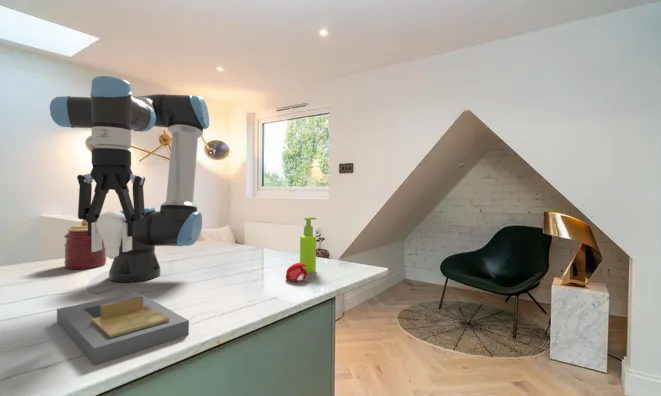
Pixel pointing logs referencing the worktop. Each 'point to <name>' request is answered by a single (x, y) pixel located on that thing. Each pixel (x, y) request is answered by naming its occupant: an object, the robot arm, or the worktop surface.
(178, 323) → the socket block
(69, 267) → the canister
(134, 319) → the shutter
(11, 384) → the worktop surface
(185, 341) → the worktop surface
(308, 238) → the soap dispenser
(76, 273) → the worktop surface
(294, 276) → the cap
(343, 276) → the worktop surface
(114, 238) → the lightbulb
